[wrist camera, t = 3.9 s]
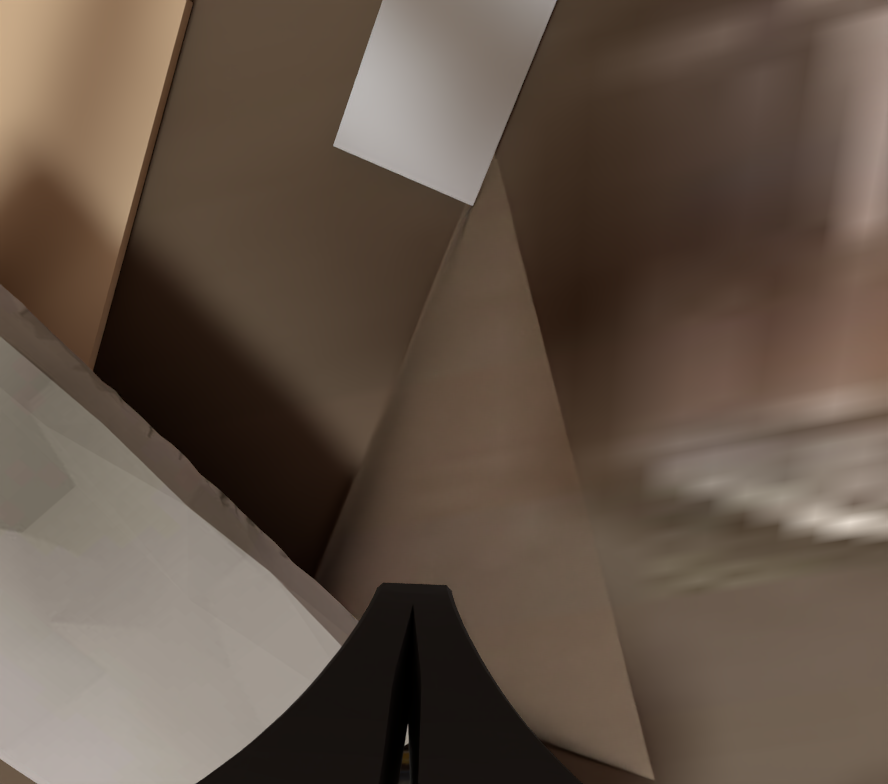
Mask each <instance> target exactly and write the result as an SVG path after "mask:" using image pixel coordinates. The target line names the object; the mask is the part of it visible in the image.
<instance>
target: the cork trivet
mask: <svg viewBox="0 0 888 784" xmlns="http://www.w3.org/2000/svg"><path fill="white" fill-rule="evenodd" d="M192 5H193V2H191V1H190V0H0V284H1V285H2V286H3V287H4V288H5V289H6V290H8V291H9V292H10V293H11V294H12V295H13V296H15V297H16V298H17V299H18V300H19V301H20V302H22V303H23V304H24V305H25V307H26V308H27V309H28V310H29V311H30V312H31V313H32V314H33V315H34V316H35V317H36V318H37V319H38V320H40V321H41V322H42V323H43V324H44V325H45V326H46V327H47V328H48V329H49V330H50V331H51V332H52V333H53V334H54V335H55V336H56V337H58V338H59V339H60V340H61V341H62V342H63V343H64V344H65V345H66V346H67V347H68V348H69V349H70V350H71V351H72V352H73V353H75V354H76V355H77V356H78V357H79V358H80V359H81V360H82V361H83V362H84V363H85V364H86V365H87V366H88V367H89V368H90V369H91V370H92V371H93V369H94V365H95V362H96V358H97V354H98V351H99V347H100V343H101V340H102V336H103V332H104V329H105V325H106V321H107V318H108V314H109V310H110V307H111V303H112V299H113V296H114V292H115V288H116V284H117V281H118V277H119V273H120V270H121V266H122V262H123V259H124V255H125V251H126V248H127V244H128V240H129V237H130V233H131V229H132V226H133V222H134V218H135V215H136V211H137V207H138V204H139V200H140V196H141V193H142V189H143V185H144V182H145V178H146V174H147V171H148V167H149V163H150V159H151V156H152V152H153V148H154V145H155V141H156V137H157V134H158V130H159V126H160V123H161V119H162V115H163V112H164V108H165V104H166V101H167V97H168V93H169V90H170V86H171V82H172V79H173V75H174V71H175V68H176V64H177V60H178V57H179V53H180V49H181V46H182V42H183V38H184V34H185V31H186V27H187V23H188V20H189V16H190V12H191V9H192Z"/></svg>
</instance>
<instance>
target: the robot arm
mask: <svg viewBox="0 0 888 784" xmlns="http://www.w3.org/2000/svg"><path fill="white" fill-rule="evenodd" d="M407 727H408V738H409V765H410V784H583V783H581V782H580V781H579V780H578V779H577V778H576V777H575V776H574V775H573V774H572V773H571V772H570V771H569V770H568V769H567V768H566V767H565V766H564V765H563V764H562V763H561V762H560V761H559V760H558V759H557V758H556V757H555V756H554V755H553V754H552V753H551V752H550V751H549V750H548V749H547V748H546V747H545V746H544V744H543V743H542V742H541V741H540V740H539V739H538V737H537V736H536V735H535V734H534V733H533V732H532V730H531V729H530V728H529V727H528V726H527V725H526V723H525V722H524V721H523V719H522V718H521V717H520V716H519V714H518V713H517V712H516V710H515V709H514V708H513V706H512V705H511V704H510V702H509V701H508V700H507V698H506V697H505V695H504V694H503V692H502V691H501V689H500V688H499V686H498V685H497V683H496V682H495V680H494V679H493V677H492V676H491V674H490V672H489V671H488V669H487V667H486V666H485V664H484V662H483V661H482V659H481V657H480V655H479V653H478V652H477V650H476V648H475V646H474V644H473V642H472V640H471V639H470V637H469V635H468V633H467V631H466V628H465V626H464V624H463V622H462V620H461V617H460V615H459V612H458V610H457V607H456V605H455V602H454V598H453V595H452V591H451V590H450V589H449V588H448V586H447V585H429V584H405V583H382V584H381V585H380V586H379V587H377V590H376V592H375V594H374V596H373V598H372V600H371V602H370V604H369V606H368V607H367V609H366V611H365V612H364V614H363V616H362V617H361V619H360V620H359V622H358V624H357V625H356V627H355V628H354V629H353V631H352V632H351V634H350V635H349V637H348V638H347V639H346V641H345V642H344V644H343V645H342V647H341V648H340V649H339V651H338V652H337V653H336V655H335V656H334V657H333V658H332V659H331V661H330V662H329V663H328V664H327V666H326V667H325V668H324V669H323V671H322V672H321V673H320V674H319V676H318V677H317V678H316V679H315V680H314V681H313V682H312V684H311V685H310V686H309V687H308V688H307V689H306V690H305V691H304V692H303V694H302V695H301V696H300V697H299V698H298V699H297V700H296V701H295V702H294V703H293V704H292V705H291V706H290V707H289V708H288V709H287V710H286V711H285V712H284V713H283V714H282V715H281V716H280V717H279V718H277V719H276V720H275V721H274V722H273V723H272V724H271V725H270V726H269V727H268V728H266V729H265V730H264V731H263V732H262V733H261V734H260V735H259V736H258V737H256V738H255V739H254V740H253V741H252V742H251V743H249V744H248V745H247V746H246V747H245V748H243V749H242V750H241V751H240V752H238V753H237V754H236V755H234V756H233V757H232V758H230V759H229V760H228V761H226V762H225V763H224V764H222V765H221V766H219V767H218V768H217V769H215V770H214V771H213V772H211V773H210V774H209V775H207V776H206V777H205V778H203V779H202V780H200V781H199V782H197V783H196V784H399V777H400V771H401V765H402V759H403V752H404V746H405V740H406V733H407Z"/></svg>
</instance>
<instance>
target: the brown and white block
mask: <svg viewBox="0 0 888 784" xmlns="http://www.w3.org/2000/svg"><path fill="white" fill-rule="evenodd" d="M556 1H557V0H383V1H382V4H381V7H380V10H379V13H378V16H377V19H376V22H375V24H374V27H373V30H372V33H371V36H370V39H369V42H368V45H367V48H366V51H365V54H364V57H363V60H362V63H361V66H360V69H359V71H358V74H357V77H356V80H355V83H354V86H353V89H352V92H351V95H350V98H349V101H348V104H347V107H346V110H345V113H344V116H343V119H342V121H341V124H340V127H339V130H338V133H337V136H336V139H335V142H334V145H333V146H335V147H337V148H339V149H341V150H344V151H346V152H348V153H351V154H353V155H355V156H358V157H360V158H362V159H364V160H367V161H369V162H371V163H374V164H376V165H378V166H381V167H383V168H385V169H388V170H390V171H392V172H395V173H397V174H399V175H402V176H404V177H406V178H409V179H411V180H413V181H415V182H418V183H420V184H422V185H425V186H427V187H429V188H432V189H434V190H436V191H439V192H441V193H443V194H446V195H448V196H450V197H453V198H455V199H457V200H460V201H462V202H464V203H467V204H469V205H471V206H473V204H474V202H475V199H476V197H477V194H478V192H479V189H480V187H481V185H482V182H483V180H484V177H485V175H486V172H487V170H488V167H489V165H490V162H491V160H492V158H493V155H494V153H495V150H496V148H497V145H498V143H499V140H500V138H501V136H502V133H503V131H504V128H505V126H506V123H507V121H508V118H509V116H510V113H511V111H512V109H513V106H514V104H515V101H516V99H517V96H518V94H519V91H520V89H521V86H522V84H523V82H524V79H525V77H526V74H527V72H528V69H529V67H530V64H531V62H532V60H533V57H534V55H535V52H536V50H537V47H538V45H539V42H540V40H541V37H542V35H543V33H544V30H545V28H546V25H547V23H548V20H549V18H550V15H551V13H552V10H553V8H554V6H555V3H556Z"/></svg>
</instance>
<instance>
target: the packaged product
mask: <svg viewBox="0 0 888 784" xmlns="http://www.w3.org/2000/svg"><path fill="white" fill-rule="evenodd" d="M358 622H359V621H358V620H357V619H355V618H354V617H353V616H352V615H351V614H350V613H349V612H348V611H347V610H346V609H345V608H344V607H343V606H342V605H341V604H340V603H339V602H338V601H337V600H336V599H335V598H334V597H333V596H332V595H331V594H330V593H328V592H327V591H326V590H325V589H324V588H323V587H322V586H321V585H320V584H319V583H318V582H317V581H316V580H314V579H313V578H312V577H311V576H309V575H308V574H307V573H305V572H304V571H303V570H302V569H300V568H299V567H298V566H297V565H295V564H294V563H293V562H292V561H291V560H290V559H289V557H288V556H287V555H286V554H285V553H284V552H283V550H282V549H281V548H280V547H279V546H278V545H277V544H276V543H275V542H274V541H273V540H272V539H270V538H269V537H268V536H267V535H266V534H265V533H264V532H263V531H261V530H260V529H259V528H258V527H257V526H256V525H255V524H254V523H253V522H252V521H251V520H250V519H249V518H248V517H247V516H246V515H245V514H244V513H243V512H242V511H240V510H239V509H238V508H237V506H236V505H235V504H234V503H233V502H232V501H231V500H230V499H229V498H228V497H227V496H225V495H224V494H223V493H222V492H221V491H220V490H219V489H218V488H217V487H216V486H214V485H213V484H212V483H211V482H209V481H208V480H207V479H206V478H204V477H203V476H202V475H200V473H199V472H198V471H197V470H196V469H195V467H194V466H193V465H192V464H191V462H190V461H189V460H188V459H187V458H186V457H185V456H184V455H183V454H182V453H181V452H180V451H179V450H178V449H177V448H176V447H174V446H173V445H172V444H171V443H170V442H168V441H167V440H165V439H164V438H163V437H161V436H160V435H159V434H158V433H157V432H156V431H155V430H154V429H153V428H152V427H151V426H150V425H149V424H148V423H147V422H146V421H145V420H144V419H143V418H142V417H141V416H140V415H139V414H138V413H137V412H136V411H134V410H133V409H132V408H131V407H130V406H129V405H128V404H127V403H125V402H124V401H123V400H122V398H121V397H120V396H119V395H118V393H117V392H116V391H115V390H114V389H112V388H111V387H109V386H108V385H106V384H105V383H104V382H102V381H101V380H100V379H99V377H98V376H97V375H96V374H95V373H94V372H93V371H92V370H91V369H90V368H89V367H88V366H87V365H86V364H85V363H84V362H83V361H82V360H81V359H80V358H79V357H78V356H77V355H76V354H75V353H73V352H72V351H71V350H70V349H69V348H68V347H67V346H66V345H65V344H64V343H63V342H62V341H61V340H60V339H59V338H58V337H56V336H55V335H54V334H53V333H52V332H51V331H50V330H49V329H48V328H47V327H46V326H45V325H44V324H43V323H42V322H41V321H40V320H38V319H37V318H36V317H35V316H34V315H33V314H32V313H31V312H30V311H29V310H28V309H27V308H26V307H25V305H24V304H23V303H22V302H20V301H19V300H18V299H17V298H16V297H15V296H13V295H12V294H11V293H10V292H9V291H8V290H6V289H5V288H4V287H3V286H2V285H1V284H0V759H1V760H3V761H4V762H6V763H7V764H9V765H10V766H12V767H13V768H15V769H16V770H18V771H19V772H21V773H22V774H24V775H25V776H27V777H28V778H30V779H31V780H33V781H34V782H36V783H37V784H196V783H197V782H199V781H200V780H202V779H203V778H205V777H206V776H207V775H209V774H210V773H211V772H213V771H214V770H215V769H217V768H218V767H219V766H221V765H222V764H224V763H225V762H226V761H228V760H229V759H230V758H232V757H233V756H234V755H236V754H237V753H238V752H240V751H241V750H242V749H243V748H245V747H246V746H247V745H248V744H249V743H251V742H252V741H253V740H254V739H255V738H256V737H258V736H259V735H260V734H261V733H262V732H263V731H264V730H265V729H266V728H268V727H269V726H270V725H271V724H272V723H273V722H274V721H275V720H276V719H277V718H279V717H280V716H281V715H282V714H283V713H284V712H285V711H286V710H287V709H288V708H289V707H290V706H291V705H292V704H293V703H294V702H295V701H296V700H297V699H298V698H299V697H300V696H301V695H302V694H303V692H304V691H305V690H306V689H307V688H308V687H309V686H310V685H311V684H312V682H313V681H314V680H315V679H316V678H317V677H318V676H319V674H320V673H321V672H322V671H323V669H324V668H325V667H326V666H327V664H328V663H329V662H330V661H331V659H332V658H333V657H334V656H335V655H336V653H337V652H338V651H339V649H340V648H341V647H342V645H343V644H344V642H345V641H346V639H347V638H348V637H349V635H350V634H351V632H352V631H353V629H354V628H355V627H356V625H357V624H358ZM408 743H409V738H408V727H407V733H406V740H405V745H406V744H408Z"/></svg>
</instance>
